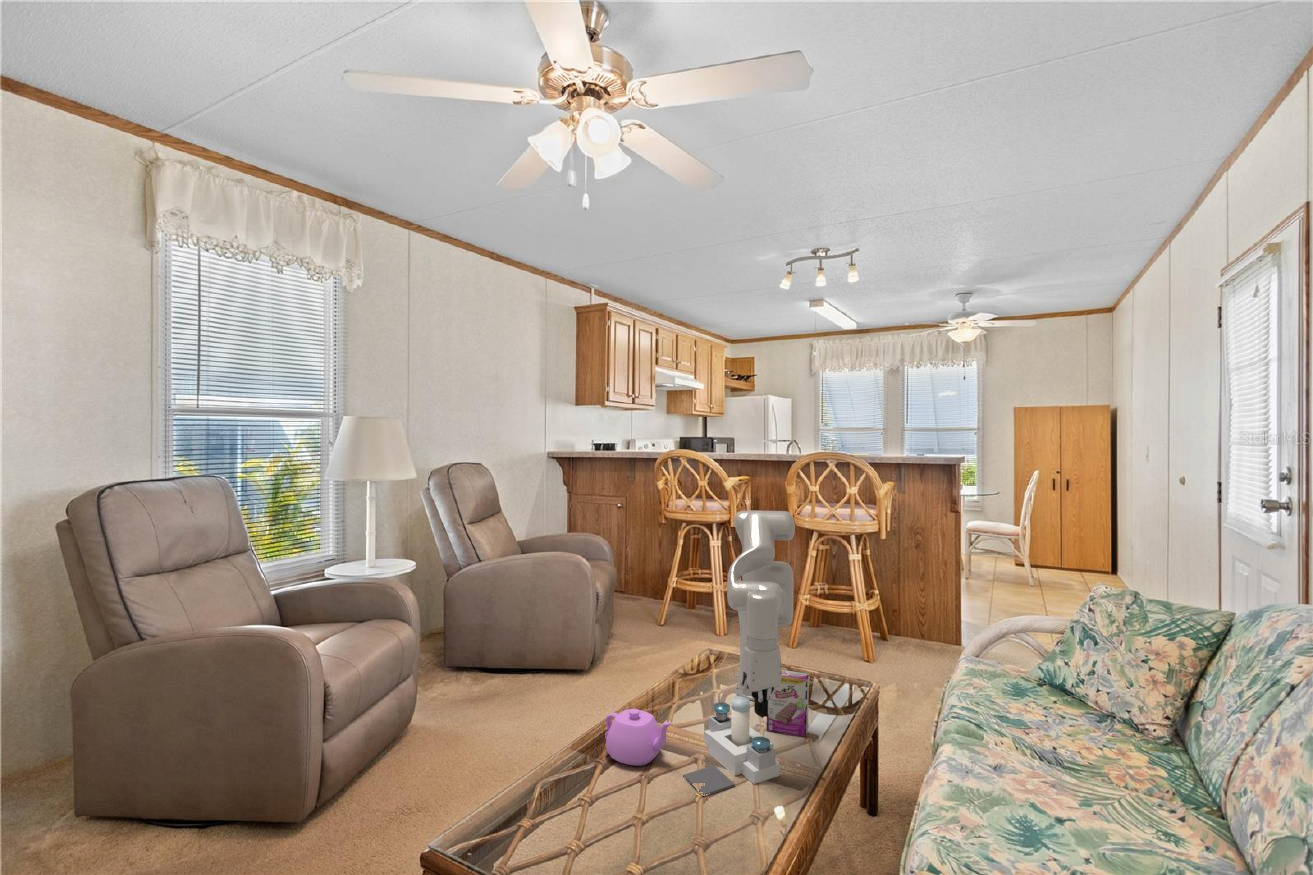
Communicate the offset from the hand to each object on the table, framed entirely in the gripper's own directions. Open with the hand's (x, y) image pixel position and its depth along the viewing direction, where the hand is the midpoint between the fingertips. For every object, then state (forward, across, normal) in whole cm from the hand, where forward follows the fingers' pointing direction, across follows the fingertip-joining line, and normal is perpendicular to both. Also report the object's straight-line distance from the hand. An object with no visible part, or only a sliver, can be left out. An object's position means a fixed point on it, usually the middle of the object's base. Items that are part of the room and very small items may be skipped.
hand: (761, 714), depth 150 cm
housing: (+15, +1, -8) cm, 17 cm away
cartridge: (+15, +1, -8) cm, 17 cm away
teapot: (+15, +24, -20) cm, 35 cm away
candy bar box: (+15, -19, -12) cm, 28 cm away
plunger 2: (+11, +1, +1) cm, 11 cm away
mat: (+14, +14, -2) cm, 20 cm away
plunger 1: (+10, +1, -16) cm, 19 cm away
